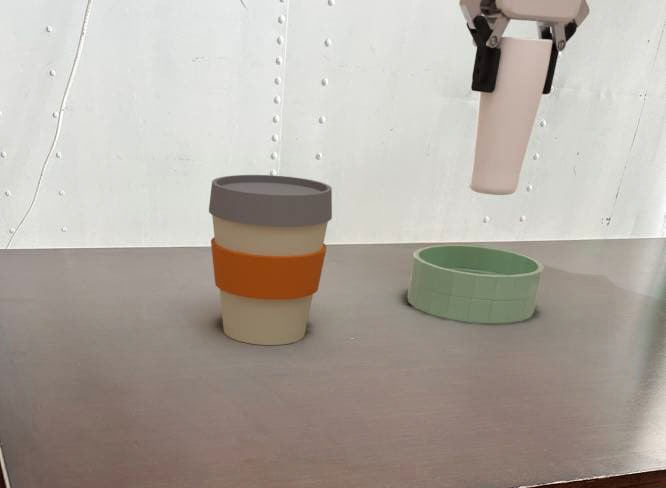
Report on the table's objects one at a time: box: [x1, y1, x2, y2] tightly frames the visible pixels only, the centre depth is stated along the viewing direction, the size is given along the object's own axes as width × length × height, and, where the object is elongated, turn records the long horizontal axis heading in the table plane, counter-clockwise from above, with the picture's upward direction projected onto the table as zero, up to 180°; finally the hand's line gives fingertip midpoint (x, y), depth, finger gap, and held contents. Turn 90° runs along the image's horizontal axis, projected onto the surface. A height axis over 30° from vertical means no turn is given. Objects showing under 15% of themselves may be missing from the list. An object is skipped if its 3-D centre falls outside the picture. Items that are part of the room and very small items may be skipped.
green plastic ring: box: [407, 244, 545, 324], centre depth 99 cm, size 15×15×6 cm
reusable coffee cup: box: [208, 174, 333, 346], centre depth 86 cm, size 13×13×15 cm
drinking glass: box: [468, 36, 553, 196], centre depth 89 cm, size 7×7×15 cm
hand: (510, 90), depth 88 cm, fingers closed on drinking glass, 6 cm apart
